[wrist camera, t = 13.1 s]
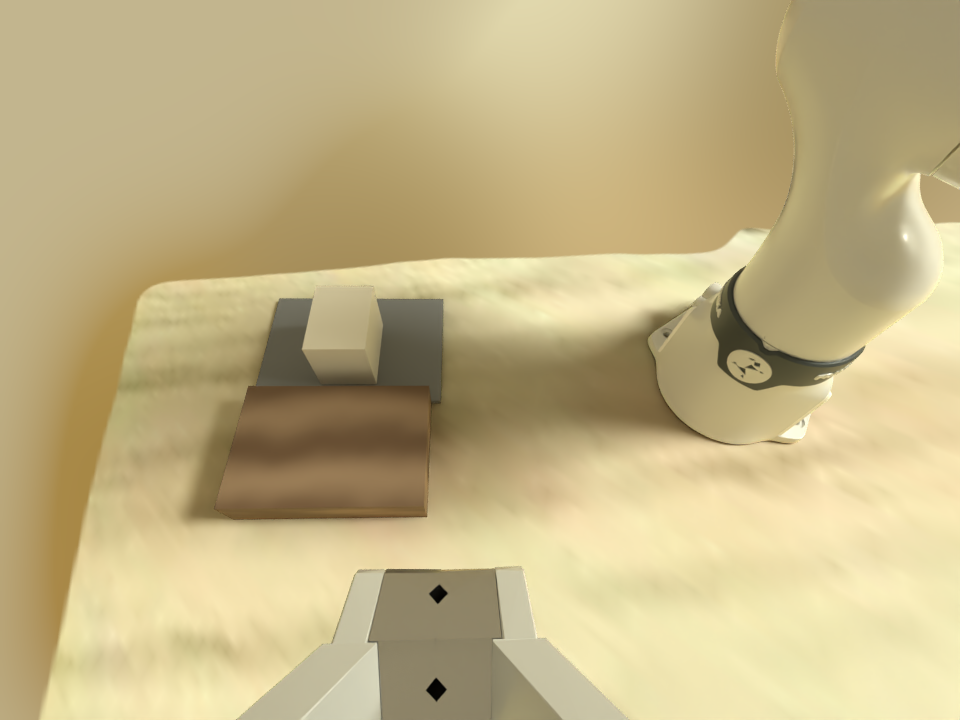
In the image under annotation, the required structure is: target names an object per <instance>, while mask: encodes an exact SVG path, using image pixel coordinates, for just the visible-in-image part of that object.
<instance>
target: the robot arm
mask: <svg viewBox="0 0 960 720" xmlns="http://www.w3.org/2000/svg"><path fill="white" fill-rule="evenodd" d="M776 74H777V79H778V82H779V84H780V86H781V88H782V90H783V93H784V96H785V99H786V102H787V105H788V108H789V112H790V117H791V121H792V129H793V137H794V163H793V173H792V180H791V185H790V189H789V193H788V197H787V200H786V202H785V205H784V208H783V210H782V212H781V214H780V216H779V217H778V219H777V221H776V223H775V224H774V226H773V228H772V229H771V231H770V233H769V234H768V236H767V237H766V239H765V240H764V242H763V243H762V245H761V247H760V248H759V249H758V251H757V252H756V254H755V255H754V257H753V258H752V259H751V261H750V262H749V263H748V265H747V266H745V267H743V268H742V269H740V270H739V271H738V272H737V273H735V274H734V276H733V277H731V278H730V279H729V280H728V282H726V283H725V285H724V286H722V285H720V284H719V283H716V282H715V283H713V284H712V285H711V286H709V287H708V288H707V289H706V291H705V292H704V293H703V295H702V296H700V297H699V298H697V299H696V300H695V301H694V303H693V304H692V305H693V306H692V307H691V308H689V309H688V310H686V311H685V312H683V313H682V314H680V315H679V316H677V317H676V318H674V319H673V320H671V321H670V322H668V323H667V324H665V325H663V326H662V327H660V328H659V329H657V330H656V331H654V332H653V333H652V334H651V335H650V336H649V338H648V345H649V347H650V350H651V352H652V354H653V356H654V357H655V360H656V368H657V381H658V385H659V388H660V391H661V393H662V395H663V397H664V399H665V401H666V403H667V404H668V406H669V407H670V408H671V410H672V411H673V412H674V413H675V414H676V415H677V416H678V417H679V418H680V419H681V420H682V421H683V422H684V423H685V424H687V425H688V426H689V427H691V428H692V429H694V430H695V431H697V432H699V433H701V434H702V435H704V436H707V437H709V438H711V439H714V440H717V441H721V442H725V443H730V444H751V443H756V442H761V441H767V440H772V441H777V442H782V443H797V442H799V441H800V440H801V439H802V438H803V437H804V436H805V433H806V429H807V426H808V422H809V418H810V414H811V413H812V412H813V411H814V410H816V409H817V408H818V407H820V406H821V405H822V404H824V403H825V402H826V401H827V400H828V399H829V398H830V397H831V396H832V394H831V392H830V390H831V388H832V384H833V377H834V375H837V374H838V373H840V372H841V371H843V370H844V369H845V368H847V367H848V366H849V365H850V364H851V363H852V362H853V361H854V360H855V359H856V358H857V357H858V356H859V355H860V354H861V353H862V352H863V350H864V348H865V346H866V344H867V343H869V342H870V341H872V340H873V339H874V338H876V337H877V336H878V335H880V334H881V333H882V332H884V331H885V330H887V329H888V328H889V327H891V326H892V325H893V324H895V323H896V322H897V321H899V320H900V319H902V318H903V317H904V316H906V315H907V314H908V313H910V312H911V311H913V310H914V309H915V308H917V307H918V306H919V305H921V304H922V303H924V302H925V301H926V300H927V299H928V298H929V296H930V295H931V294H932V293H933V291H934V290H935V288H936V286H937V285H938V283H939V280H940V278H941V275H942V270H943V247H942V242H941V238H940V235H939V232H938V230H937V228H936V226H935V225H934V223H933V221H932V219H931V218H930V216H929V214H928V212H927V211H926V209H925V207H924V205H923V202H922V199H921V194H920V174H924V175H927V176H930V175H931V174H932V173H933V172H935V171H936V170H937V171H936V172H935V173H934V174H933V175H932V176H934V177H935V178H937V179H939V180H941V181H943V182H945V183H947V184H949V185H951V186H953V187H956V188H958V189H959V190H960V0H791V3H790V5H789V7H788V9H787V11H786V14H785V16H784V19H783V22H782V25H781V29H780V32H779V36H778V42H777V48H776ZM664 335H666V336H667V337H668V338H667V337H665V336H664ZM236 720H629V719H628V718H627V717H626V716H625V715H624V714H623V713H622V712H621V711H620V710H619V709H618V708H617V707H616V706H615V705H614V704H613V703H612V702H611V701H610V700H609V699H608V698H607V697H606V696H605V695H604V694H603V693H602V692H601V691H600V690H599V689H598V688H597V687H596V686H595V685H594V684H593V683H592V682H591V681H590V680H589V679H588V678H587V677H585V676H584V675H583V674H582V673H581V672H580V671H579V670H578V669H577V668H576V667H575V666H574V665H573V664H572V663H571V662H570V661H569V660H568V659H567V658H566V657H565V656H564V655H563V654H562V653H561V652H560V651H559V650H558V649H557V648H556V647H555V646H554V645H553V644H552V643H551V642H550V641H549V640H548V639H547V638H537V633H536V628H535V623H534V618H533V613H532V608H531V603H530V598H529V593H528V588H527V583H526V578H525V573H524V569H523V568H522V567H521V566H515V567H495V569H494V568H492V569H452V570H441V569H387V570H384V569H381V570H358V571H357V573H356V574H355V575H354V578H353V581H352V583H351V586H350V589H349V592H348V595H347V598H346V601H345V604H344V607H343V610H342V613H341V616H340V619H339V622H338V625H337V628H336V631H335V634H334V637H333V640H332V643H331V644H322V645H320V646H319V647H318V648H317V649H316V650H315V651H314V652H313V653H311V654H310V655H309V656H308V657H307V658H306V659H305V660H303V661H302V662H301V663H300V664H299V665H298V666H297V667H295V668H294V669H293V670H292V671H291V672H290V673H289V674H287V675H286V676H285V677H284V678H283V679H282V680H281V681H280V682H278V683H277V684H276V685H275V686H274V687H273V688H272V689H270V690H269V691H268V692H267V693H266V694H265V695H264V696H262V697H261V698H260V699H259V700H258V701H257V702H256V703H254V704H253V705H252V706H251V707H250V708H249V709H248V710H247V711H245V712H244V713H243V714H242V715H241V716H240V717H239V718H237V719H236Z"/></svg>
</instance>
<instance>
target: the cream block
mask: <svg viewBox="0 0 960 720" xmlns="http://www.w3.org/2000/svg"><path fill="white" fill-rule="evenodd" d="M382 330H383V323H382V319H381V315H380V311H379V307H378V303H377V299H376V295H375V291H374V287H373V286H316V287H315V292H314V296H313V301H312V305H311V310H310V315H309V319H308V324H307V328H306V333H305V337H304V342H303V347H302V351H303V352H304V354H305V356H306V358H307V360H308V361H309V363H310V365H311V367H312V369H313V370H314V372H315V374H316V376H317V378H318V379H319V381H320V383H321V384H377V375H378V366H379V357H380V348H381V339H382Z"/></svg>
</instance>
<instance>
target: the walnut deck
mask: <svg viewBox="0 0 960 720" xmlns="http://www.w3.org/2000/svg"><path fill="white" fill-rule="evenodd" d="M430 426H431V396H430V389H429V386H248V389H247V393H246V397H245V400H244V404H243V407H242V411H241V414H240V418H239V422H238V425H237V429H236V432H235V436H234V439H233V443H232V447H231V450H230V454H229V457H228V461H227V464H226V468H225V472H224V475H223V479H222V482H221V486H220V489H219V493H218V497H217V500H216V504H215V507H214V509H215V510H217V511H219V512H221V513H223V514H224V515H226V516H228V517H230V518H232V519H305V518H376V517H427V503H428V477H429V452H430Z"/></svg>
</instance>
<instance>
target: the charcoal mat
mask: <svg viewBox="0 0 960 720" xmlns="http://www.w3.org/2000/svg"><path fill="white" fill-rule="evenodd" d="M312 301H313V299H279V302H278V306H277V310H276V313H275V317H274V321H273V324H272V328H271V332H270V335H269V339H268V343H267V347H266V350H265V354H264V358H263V361H262V365H261V369H260V372H259V376H258V380H257V384H256V386H429V389H430V396H431V403H441V370H442V333H443V299H377V303H378V307H379V311H380V315H381V319H382V323H383V330H382V339H381V348H380V357H379V366H378V375H377V384H321V383H320V381H319V379H318V378H317V376H316V374H315V372H314V370H313V369H312V367H311V365H310V363H309V361H308V360H307V358H306V356H305V354H304V352H303V351H302V347H303V342H304V337H305V333H306V328H307V324H308V319H309V315H310V310H311V305H312Z"/></svg>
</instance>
